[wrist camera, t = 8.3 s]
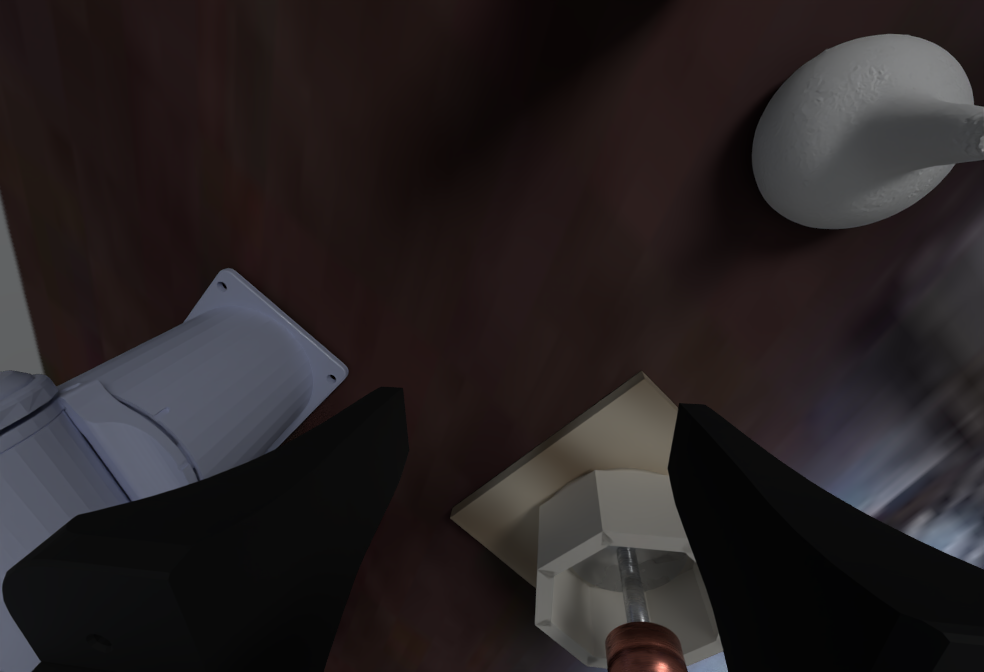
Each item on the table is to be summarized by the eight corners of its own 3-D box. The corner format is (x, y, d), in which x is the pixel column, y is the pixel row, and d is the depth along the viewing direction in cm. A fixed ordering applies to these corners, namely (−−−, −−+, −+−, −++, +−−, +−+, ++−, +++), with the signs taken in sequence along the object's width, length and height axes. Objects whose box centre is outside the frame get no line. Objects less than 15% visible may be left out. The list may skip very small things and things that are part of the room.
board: (605, 634, 30) (606, 646, 29) (452, 507, 27) (449, 518, 27) (804, 538, 25) (811, 550, 24) (641, 370, 22) (644, 378, 22)
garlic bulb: (952, 103, 17) (1286, 40, 9) (834, 252, 19) (1033, 298, 11) (811, 18, 17) (1045, -121, 9) (706, 179, 19) (825, 177, 11)
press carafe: (611, 612, 28) (621, 693, 24) (504, 522, 26) (496, 593, 22) (747, 544, 25) (786, 624, 21) (636, 435, 23) (655, 500, 19)
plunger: (616, 598, 27) (637, 759, 20) (541, 534, 25) (537, 682, 19) (710, 549, 24) (772, 713, 17) (633, 477, 23) (668, 622, 16)
